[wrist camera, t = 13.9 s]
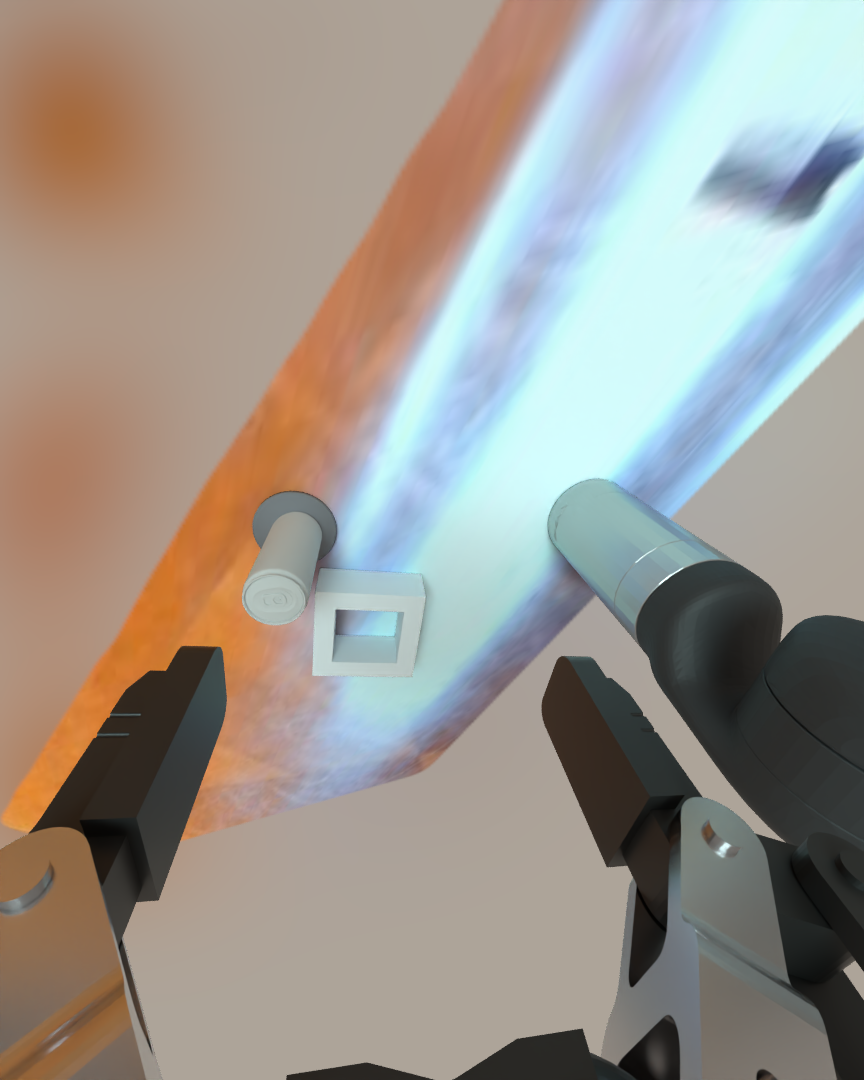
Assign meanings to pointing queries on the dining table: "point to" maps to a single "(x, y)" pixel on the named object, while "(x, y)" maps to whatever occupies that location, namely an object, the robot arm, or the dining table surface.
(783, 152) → the dining table surface
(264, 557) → the beverage can
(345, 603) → the pocket block
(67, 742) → the dining table surface
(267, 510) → the coaster
